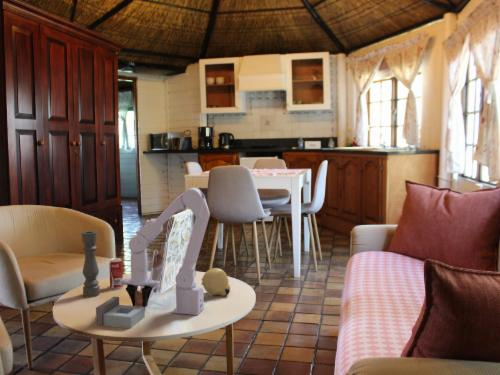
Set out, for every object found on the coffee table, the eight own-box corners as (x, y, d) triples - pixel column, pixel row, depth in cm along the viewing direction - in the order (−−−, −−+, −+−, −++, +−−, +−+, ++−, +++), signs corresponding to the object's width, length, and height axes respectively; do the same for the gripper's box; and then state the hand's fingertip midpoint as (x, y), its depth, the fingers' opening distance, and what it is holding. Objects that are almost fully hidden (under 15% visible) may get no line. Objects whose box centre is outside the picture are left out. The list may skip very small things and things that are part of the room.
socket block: (144, 318, 169) (144, 307, 169) (131, 329, 160) (131, 317, 159) (118, 315, 171) (118, 304, 171) (103, 326, 162) (103, 314, 161)
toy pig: (216, 307, 190) (237, 289, 189) (195, 285, 188) (216, 267, 188) (216, 298, 200) (236, 281, 199) (196, 277, 198) (216, 260, 197)
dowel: (146, 309, 177) (146, 290, 176) (142, 313, 173) (142, 293, 173) (137, 309, 177) (137, 290, 177) (133, 312, 174) (133, 293, 173)
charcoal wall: (119, 313, 173) (119, 296, 172) (102, 326, 161) (101, 308, 161) (114, 313, 173) (113, 296, 173) (96, 325, 162) (95, 307, 161)
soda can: (111, 285, 206) (110, 257, 205) (124, 285, 206) (123, 257, 205) (108, 289, 201) (107, 260, 200) (121, 289, 201) (120, 260, 200)
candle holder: (95, 297, 190) (93, 234, 188) (80, 296, 191) (78, 233, 189) (102, 292, 197) (100, 231, 194) (87, 292, 198) (85, 230, 195)
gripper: (162, 266, 176) (163, 303, 177) (125, 264, 179) (126, 300, 181) (154, 271, 169) (155, 310, 171) (116, 269, 173) (117, 307, 174)
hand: (140, 305), depth 175 cm, fingers closed on dowel, 3 cm apart
